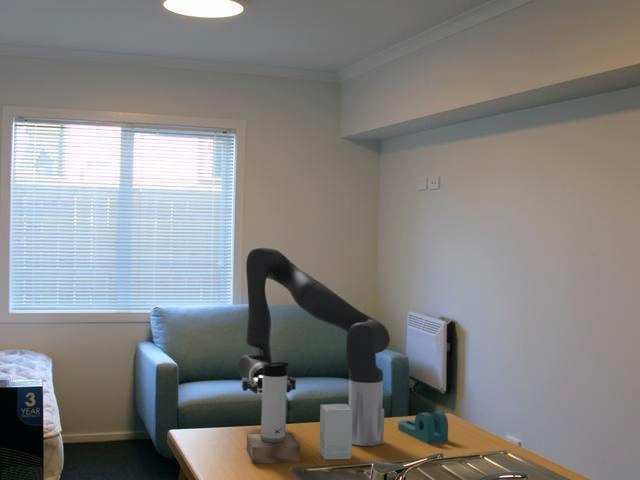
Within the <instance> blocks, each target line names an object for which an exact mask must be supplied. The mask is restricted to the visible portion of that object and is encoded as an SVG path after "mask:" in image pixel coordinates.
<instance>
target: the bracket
mask: <svg viewBox="0 0 640 480" xmlns="http://www.w3.org/2000/svg"><path fill="white" fill-rule="evenodd" d="M397 426H398V428H397V429H398V431H400V432H401V433H404V434H406V435H407V436H409V437H412V438H414V439H416V440H418V441H420V442H422V443H425V444H427V445H429V444H439V443H447V442H449V420H448V418H447V415H446V414H445V412H444V411H441V410H440V411H438V410H437V411H432V412H430V413H429V412H419V413H417V414H416V416H415V419H414V420H413V419H404V420H403V419H402V420H399V421H398V424H397Z"/></svg>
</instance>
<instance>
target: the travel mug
mask: <svg viewBox="0 0 640 480" xmlns="http://www.w3.org/2000/svg"><path fill="white" fill-rule="evenodd" d="M289 365H290V364H289V361H280V362H272V363H269V364H265V365H264V366H263V381H262V393H261V422H260V425H261V426H260V427H261V428H260V434H261V440H262V441H265V442H270V443H277V442H282V441H284V440H285V433H286V428H287V427H286V425H287V424H286V423H287V420H286V419H287V394H288V393H287V377H288V372H287V371H288V366H289Z"/></svg>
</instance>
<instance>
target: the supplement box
mask: <svg viewBox="0 0 640 480" xmlns="http://www.w3.org/2000/svg"><path fill="white" fill-rule="evenodd" d="M319 407H320V412H319V444H318V445H319V446H318V451H319V453H320V455H321V457H322V458H323V460H351V459H352V450H353V449H352V448H353V444H352V412H353V410H352V409H351V408H350V407H349V404H347V403H332V404H331V403H329V404H320V406H319Z"/></svg>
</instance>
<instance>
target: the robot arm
mask: <svg viewBox="0 0 640 480" xmlns="http://www.w3.org/2000/svg"><path fill="white" fill-rule="evenodd" d="M245 265H246V266H245V267H246V269H245V270H246V281H247V283H246V284H247V286H246V287H247V300H248V315H247V317H248V318H247V319H248V320H247V329H246V339H245V340H246V341H245V342H246V344H247V346H249V347H252V348H257V349H259V350H260V352H261V355H260V354H244V355H242V356H241V357H239V360H238V362H237V371H238V373H239V376H240V377H241V389H242V391H244V392H246V391H248V390H249V391H250V392H252V393H254V394H258V393H259V394H262V381H263V366H264V365H265V364H269V363H273V359H272V355H271V346H270V340H271V339H270V336H271V330H272V329H271V327H272V317H271V312H270V308H269V304H268V301H267V296H266V282H267V279H270V280H272V281H275V282H277V283H278V284H279V285H282V286H283V287H284V288H285V289H287V290H288V292H289V294H291V296H292V298H293V300H294V302H295V303H296V304H297V305H298V307H300V308H301V309H303V311H305V312H306V313H308V314H309V315H310V316H312V317H313V318H315V319H316V320H319V321H321V322H323V323H327V324H328V325H333V326H335V327H337V328H340V329H342V330H344V331H346V333H347V335H346V368H347V370H348V373H349V375H348V376H349V382H348V383H349V385H348V406H349V407H350V408H351V409H352V410H353V412H352V445H355V446H358V447H359V446H360V447H361V446H362V447H374V446H378V445H383V444H384V443H385V441H384V439H385V409H384V408H383V392H384V391H383V390H384V389H383V388H384V387H383V385H384V384H383V382H384V372H383V369H381V368H380V367H378V366H377V359H376V357H377V355H376V354H379V353H382V352H383V351H385V350H386V349H388V347H389V346H390V342H391V338H390V337H391V336H390V333H389V330H388V329H387V327H386V326H385V324H383V323H382V322H380V321H378V320H377V319H375V318H373V317H371V316H370V315H368V314H366V313H364V312H362V311H361V310H359V309H357V308H356V307H354V306H353V305H351V304H350V303H349V302H347V301H346V300H345V299H344V298H342V297H341V296H339V295H338V294H337V293H335V291H332V290H331V289H330V288H328V287H327V286H326V285H324V284H323V283H321V282H320V281H318V280H317V279H315V278H314V277H313V276H311V275H309V273H307V272H305V271H303V270H302V269H300V268H299V267H298V266H296V265H295V264H294V263H293V262H292V261H291V260H290V259H289V258H287V256H286V255H284V254H283V253H282V252H280V251H279V250H278V249H274V248H269V247H268V248H267V247H263V246H262V247H260V246H259V247H255V248H252V249H251V250H250V251H249V253H248V254H247V257H246V264H245ZM296 384H297V380H296V379H295V378H294V377H293V376H291V375H287V394H289V393H290V392H292V391H294V390H296V388H297V387H296Z"/></svg>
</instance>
